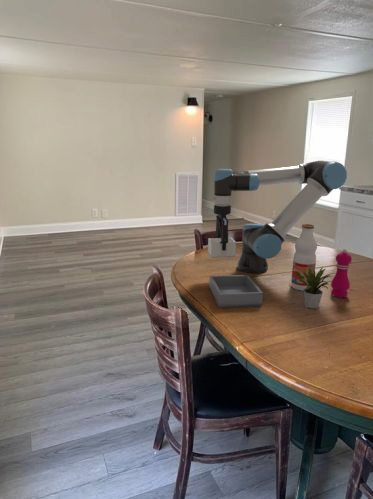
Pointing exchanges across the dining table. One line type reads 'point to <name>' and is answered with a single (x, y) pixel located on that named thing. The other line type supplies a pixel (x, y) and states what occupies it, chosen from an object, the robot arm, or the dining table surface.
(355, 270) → the dining table surface
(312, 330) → the dining table surface
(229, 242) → the white crate
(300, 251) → the fruit juice
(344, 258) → the pepper mill
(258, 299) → the slate crate
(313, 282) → the house plant
